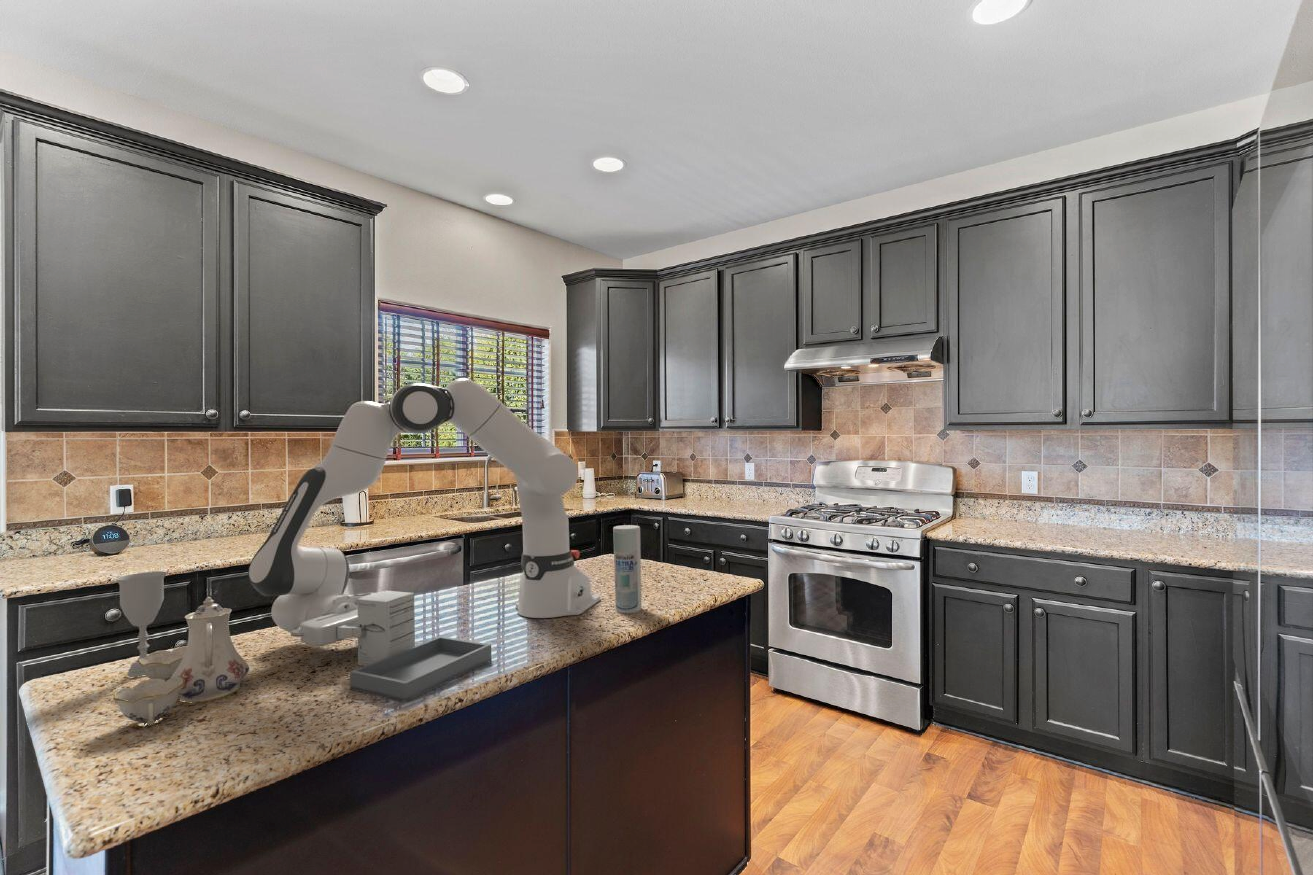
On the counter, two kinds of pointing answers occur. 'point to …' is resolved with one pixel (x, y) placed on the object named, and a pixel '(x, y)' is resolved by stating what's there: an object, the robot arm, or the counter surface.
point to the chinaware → (187, 669)
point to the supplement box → (385, 625)
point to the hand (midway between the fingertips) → (384, 625)
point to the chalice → (141, 607)
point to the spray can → (627, 568)
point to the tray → (419, 668)
